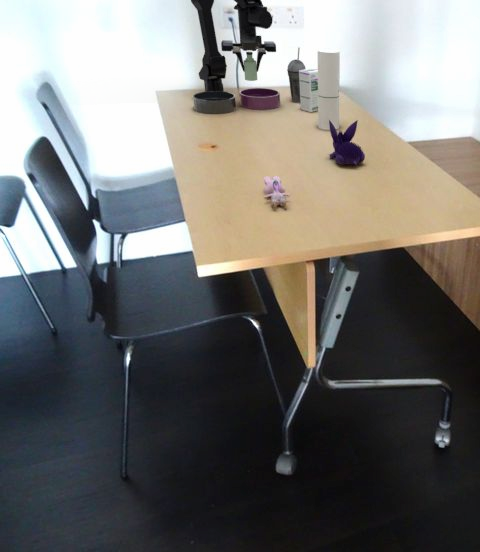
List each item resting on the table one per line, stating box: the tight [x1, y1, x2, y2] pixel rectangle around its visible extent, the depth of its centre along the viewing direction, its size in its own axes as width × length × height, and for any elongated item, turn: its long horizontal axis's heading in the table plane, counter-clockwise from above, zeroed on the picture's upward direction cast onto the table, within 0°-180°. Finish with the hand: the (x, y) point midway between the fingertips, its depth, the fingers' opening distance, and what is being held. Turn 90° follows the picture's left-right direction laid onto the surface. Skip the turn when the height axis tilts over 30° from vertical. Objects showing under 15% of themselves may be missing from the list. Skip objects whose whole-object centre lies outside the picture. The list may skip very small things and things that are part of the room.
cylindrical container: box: [317, 48, 341, 131], centre depth 190 cm, size 7×7×25 cm
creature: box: [328, 119, 366, 166], centre depth 165 cm, size 9×18×12 cm, turn 27°
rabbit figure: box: [263, 175, 291, 210], centre depth 140 cm, size 6×6×15 cm
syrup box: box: [299, 67, 318, 113], centre depth 211 cm, size 6×6×14 cm
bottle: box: [243, 51, 258, 82], centre depth 205 cm, size 4×4×10 cm
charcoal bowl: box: [192, 90, 237, 115], centre depth 205 cm, size 15×15×5 cm
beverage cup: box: [286, 46, 307, 104], centre depth 219 cm, size 7×7×20 cm
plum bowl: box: [238, 87, 281, 111], centre depth 213 cm, size 15×15×5 cm
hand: (250, 71), depth 206 cm, fingers closed on bottle, 4 cm apart
